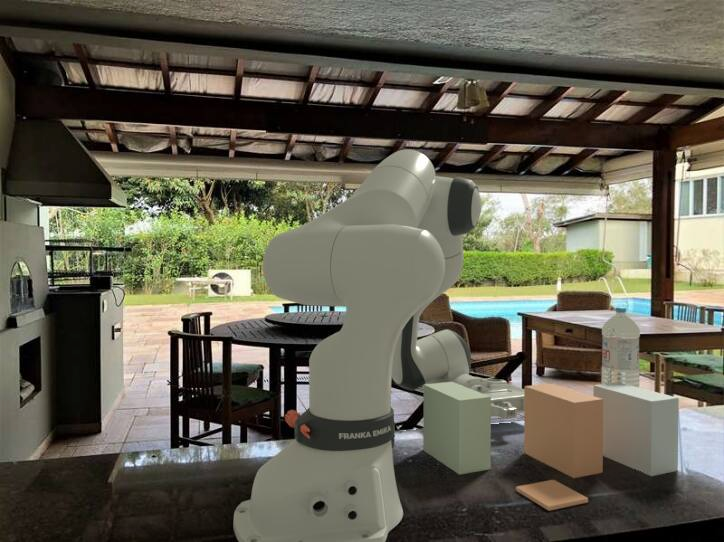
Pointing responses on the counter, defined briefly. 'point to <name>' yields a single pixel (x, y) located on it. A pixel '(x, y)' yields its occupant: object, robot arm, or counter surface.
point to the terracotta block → (564, 429)
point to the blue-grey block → (639, 427)
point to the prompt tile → (551, 495)
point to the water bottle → (620, 350)
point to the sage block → (457, 427)
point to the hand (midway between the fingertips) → (511, 413)
